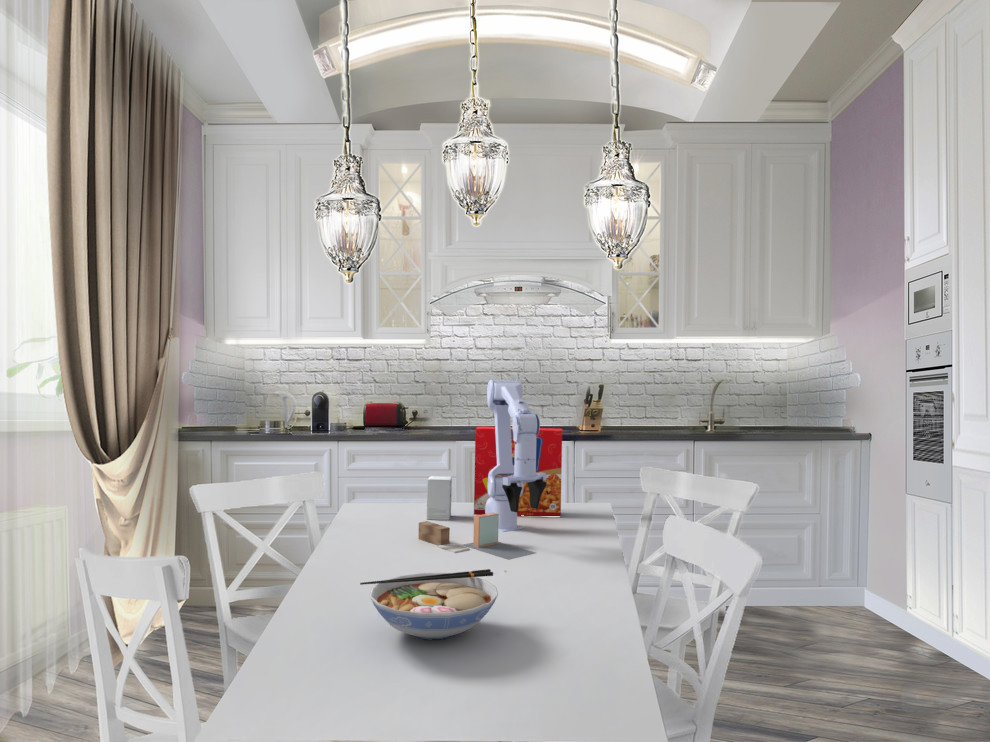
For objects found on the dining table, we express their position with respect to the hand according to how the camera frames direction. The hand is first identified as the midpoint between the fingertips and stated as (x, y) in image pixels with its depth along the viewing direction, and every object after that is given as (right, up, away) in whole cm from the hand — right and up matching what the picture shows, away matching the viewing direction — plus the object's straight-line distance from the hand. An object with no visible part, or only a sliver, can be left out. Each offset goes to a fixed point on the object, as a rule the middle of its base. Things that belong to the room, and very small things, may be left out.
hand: (524, 509), depth 183 cm
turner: (-22, -9, -1) cm, 24 cm away
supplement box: (-26, -10, +34) cm, 44 cm away
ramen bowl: (-19, -10, -61) cm, 64 cm away
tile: (-10, -9, -1) cm, 14 cm away
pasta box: (0, -10, +42) cm, 43 cm away
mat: (-7, -10, -4) cm, 13 cm away
